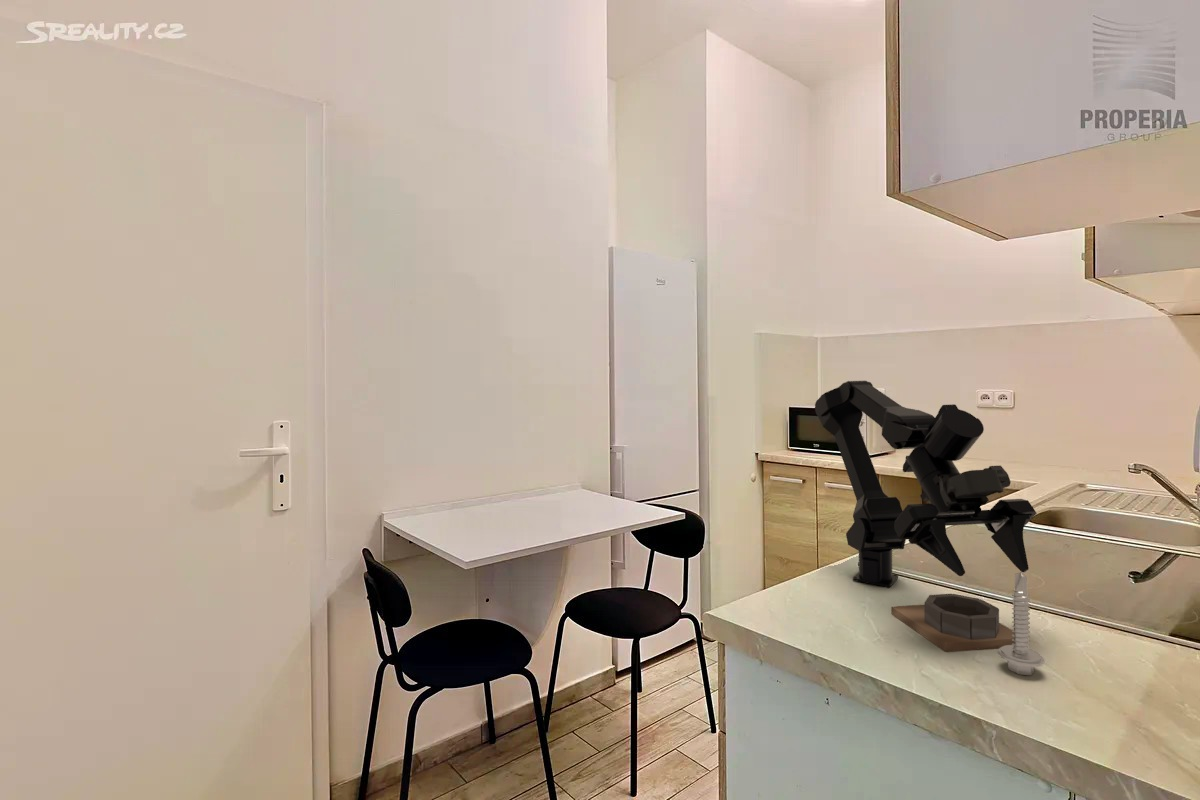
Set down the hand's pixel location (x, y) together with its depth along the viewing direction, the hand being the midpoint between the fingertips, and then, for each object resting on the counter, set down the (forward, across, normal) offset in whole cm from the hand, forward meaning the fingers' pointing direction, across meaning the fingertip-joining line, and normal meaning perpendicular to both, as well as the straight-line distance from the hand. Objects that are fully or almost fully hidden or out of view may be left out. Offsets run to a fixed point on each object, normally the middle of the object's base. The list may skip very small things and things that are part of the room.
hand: (994, 572), depth 80 cm
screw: (+11, 0, +5) cm, 12 cm away
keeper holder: (+2, 0, +14) cm, 14 cm away
